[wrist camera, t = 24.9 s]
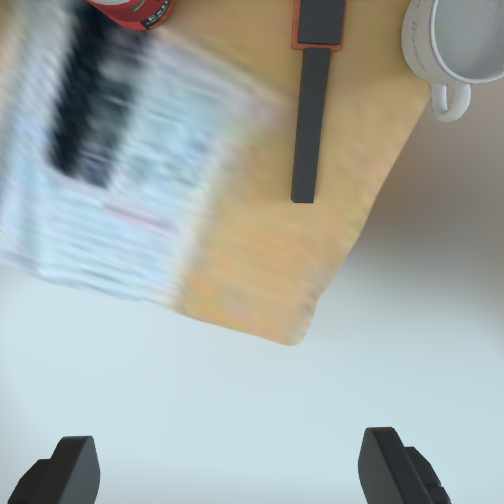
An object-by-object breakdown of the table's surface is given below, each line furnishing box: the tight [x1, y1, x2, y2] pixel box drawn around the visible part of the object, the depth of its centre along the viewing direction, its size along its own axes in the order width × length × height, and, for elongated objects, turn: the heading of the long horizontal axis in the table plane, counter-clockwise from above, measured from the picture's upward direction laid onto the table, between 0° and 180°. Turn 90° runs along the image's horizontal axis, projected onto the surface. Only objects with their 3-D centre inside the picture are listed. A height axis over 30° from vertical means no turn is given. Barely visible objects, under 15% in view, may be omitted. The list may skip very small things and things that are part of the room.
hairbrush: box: [291, 0, 347, 203], centre depth 37 cm, size 22×5×2 cm, turn 178°
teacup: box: [401, 0, 504, 122], centre depth 33 cm, size 14×11×8 cm
